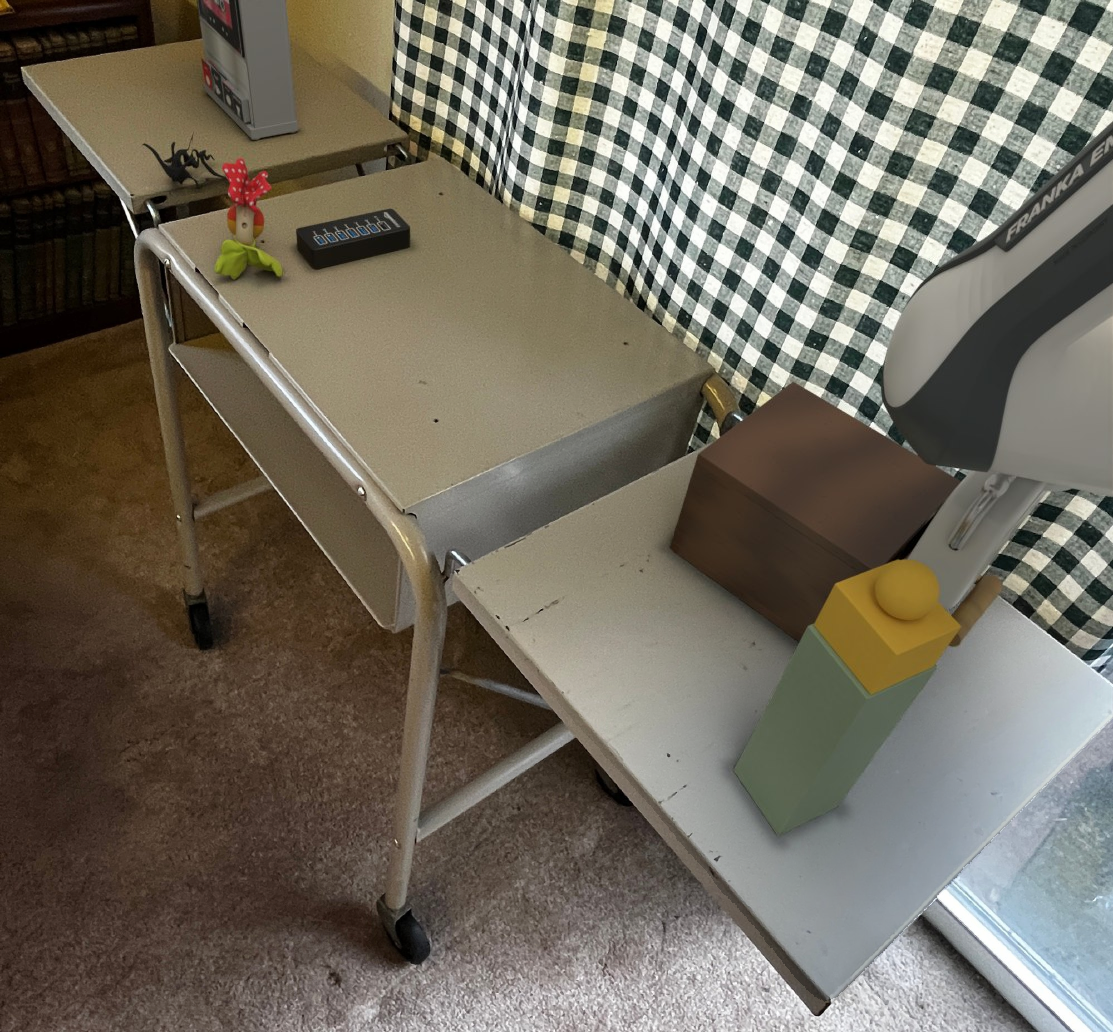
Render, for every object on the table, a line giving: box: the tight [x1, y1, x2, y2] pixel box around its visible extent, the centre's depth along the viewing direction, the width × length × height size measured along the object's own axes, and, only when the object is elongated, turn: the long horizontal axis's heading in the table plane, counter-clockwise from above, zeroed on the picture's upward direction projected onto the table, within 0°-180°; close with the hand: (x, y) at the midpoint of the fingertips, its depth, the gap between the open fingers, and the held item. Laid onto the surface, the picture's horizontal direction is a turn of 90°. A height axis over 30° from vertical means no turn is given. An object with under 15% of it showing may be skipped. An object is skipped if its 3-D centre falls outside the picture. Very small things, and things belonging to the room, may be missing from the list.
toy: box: [814, 559, 961, 695], centre depth 48 cm, size 5×4×6 cm
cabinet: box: [669, 381, 962, 643], centre depth 73 cm, size 15×13×10 cm
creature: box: [141, 131, 228, 189], centre depth 103 cm, size 8×5×8 cm
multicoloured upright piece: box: [213, 157, 283, 281], centre depth 92 cm, size 6×11×9 cm
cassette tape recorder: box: [196, 0, 299, 141], centre depth 108 cm, size 14×6×25 cm, turn 37°
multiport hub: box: [295, 208, 411, 270], centre depth 99 cm, size 4×11×2 cm, turn 124°
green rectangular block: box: [733, 624, 938, 837], centre depth 57 cm, size 5×5×16 cm
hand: (956, 565), depth 66 cm, fingers closed
